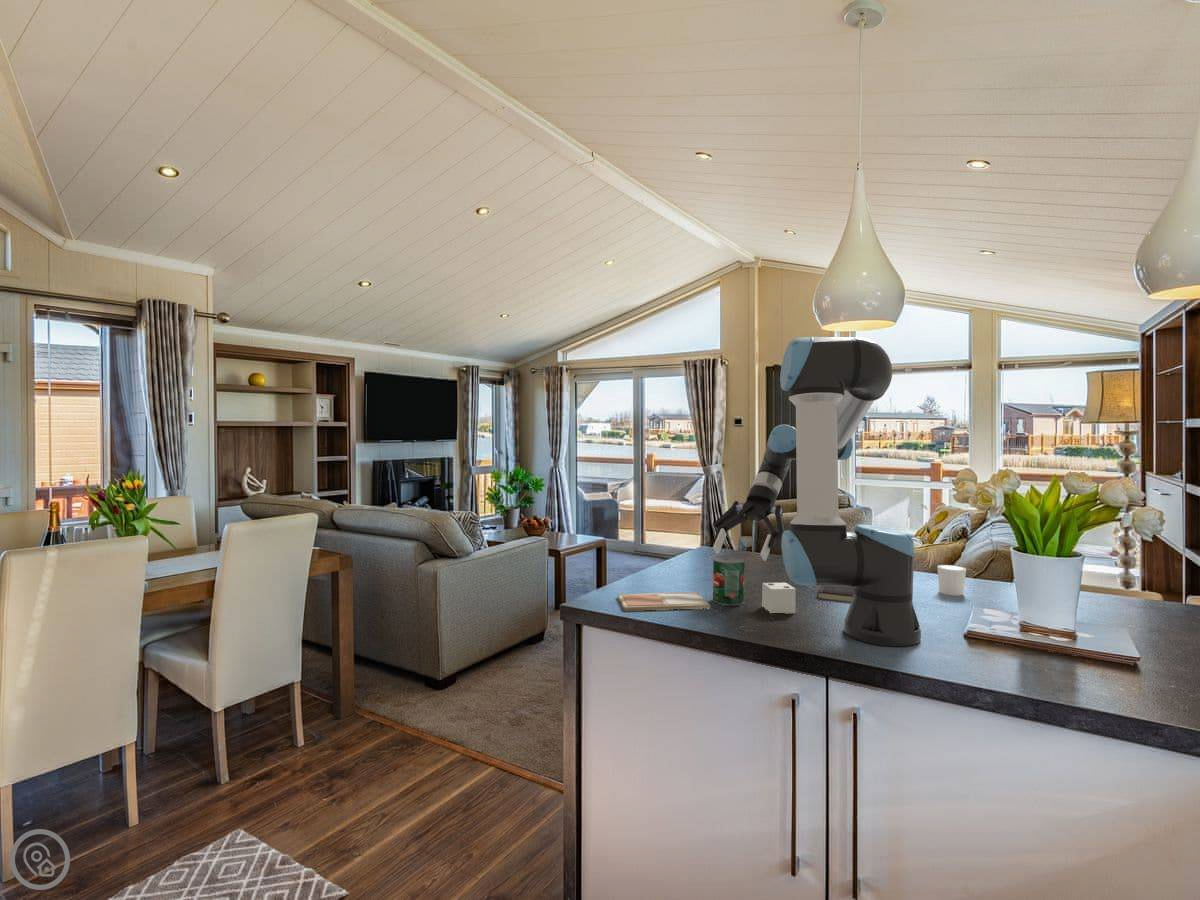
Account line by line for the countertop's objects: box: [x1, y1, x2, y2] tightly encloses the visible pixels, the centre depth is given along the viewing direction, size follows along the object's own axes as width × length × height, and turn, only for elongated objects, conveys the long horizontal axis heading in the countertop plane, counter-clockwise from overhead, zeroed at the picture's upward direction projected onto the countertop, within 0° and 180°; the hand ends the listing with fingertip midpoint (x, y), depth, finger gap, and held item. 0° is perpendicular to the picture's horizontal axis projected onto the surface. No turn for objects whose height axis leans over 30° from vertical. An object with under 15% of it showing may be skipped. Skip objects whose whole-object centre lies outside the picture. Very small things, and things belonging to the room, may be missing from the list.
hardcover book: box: [816, 586, 854, 603], centre depth 174 cm, size 16×23×2 cm
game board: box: [617, 591, 711, 612], centre depth 161 cm, size 12×21×1 cm, turn 96°
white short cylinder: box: [937, 564, 967, 597], centre depth 173 cm, size 7×7×7 cm
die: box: [761, 582, 797, 614], centre depth 156 cm, size 6×6×6 cm
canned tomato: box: [712, 555, 746, 606], centre depth 163 cm, size 8×8×11 cm
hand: (738, 554), depth 168 cm, fingers open, 13 cm apart
